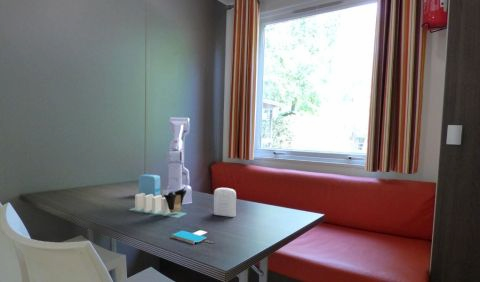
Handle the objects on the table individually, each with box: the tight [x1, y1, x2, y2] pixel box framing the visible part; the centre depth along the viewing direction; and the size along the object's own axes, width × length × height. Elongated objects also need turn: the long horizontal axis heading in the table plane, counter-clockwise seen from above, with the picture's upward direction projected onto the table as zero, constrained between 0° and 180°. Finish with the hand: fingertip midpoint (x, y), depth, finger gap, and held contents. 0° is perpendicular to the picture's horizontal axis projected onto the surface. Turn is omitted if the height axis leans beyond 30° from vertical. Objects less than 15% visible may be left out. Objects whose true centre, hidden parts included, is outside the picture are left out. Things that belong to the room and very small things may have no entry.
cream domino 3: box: [152, 194, 163, 213], centre depth 136 cm, size 2×5×7 cm, turn 157°
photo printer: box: [213, 187, 237, 218], centre depth 132 cm, size 10×4×12 cm, turn 72°
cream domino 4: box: [161, 196, 170, 216], centre depth 134 cm, size 2×5×7 cm, turn 157°
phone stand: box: [171, 229, 215, 245], centre depth 107 cm, size 20×12×2 cm, turn 57°
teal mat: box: [128, 207, 188, 218], centre depth 136 cm, size 28×7×1 cm, turn 67°
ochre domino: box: [170, 195, 182, 213], centre depth 132 cm, size 2×5×7 cm, turn 144°
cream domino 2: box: [143, 194, 153, 213], centre depth 138 cm, size 2×5×7 cm, turn 156°
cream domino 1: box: [134, 193, 145, 210], centre depth 140 cm, size 2×5×7 cm, turn 157°
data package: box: [138, 173, 161, 197], centre depth 167 cm, size 12×4×12 cm, turn 62°
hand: (175, 207), depth 132 cm, fingers closed on ochre domino, 5 cm apart
